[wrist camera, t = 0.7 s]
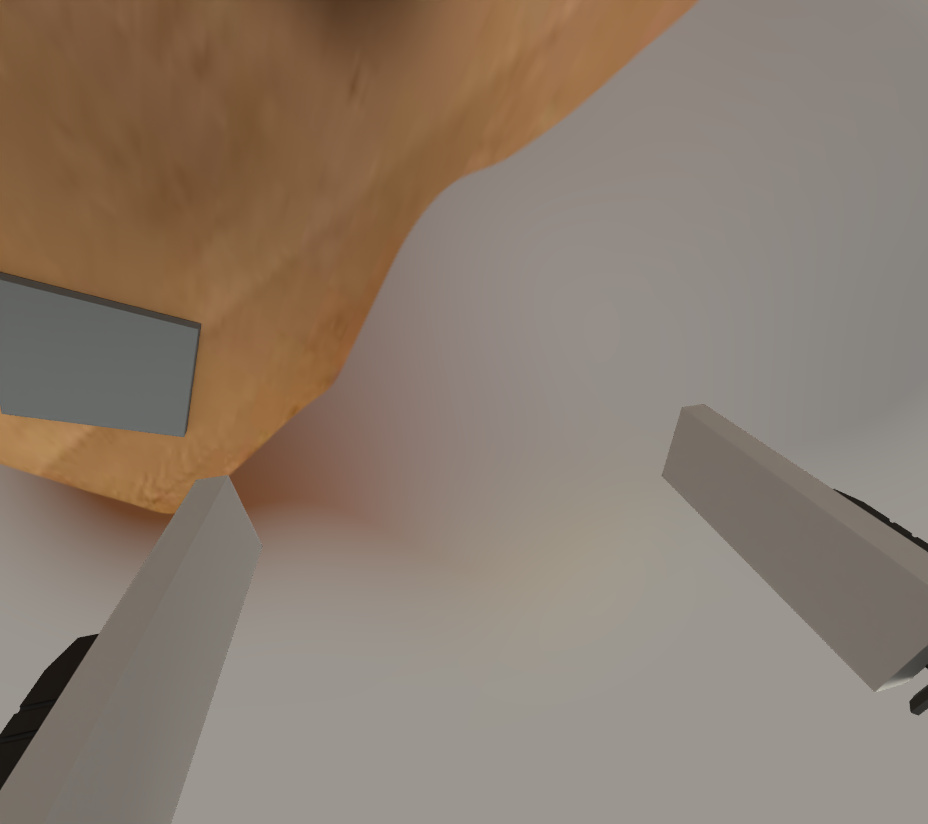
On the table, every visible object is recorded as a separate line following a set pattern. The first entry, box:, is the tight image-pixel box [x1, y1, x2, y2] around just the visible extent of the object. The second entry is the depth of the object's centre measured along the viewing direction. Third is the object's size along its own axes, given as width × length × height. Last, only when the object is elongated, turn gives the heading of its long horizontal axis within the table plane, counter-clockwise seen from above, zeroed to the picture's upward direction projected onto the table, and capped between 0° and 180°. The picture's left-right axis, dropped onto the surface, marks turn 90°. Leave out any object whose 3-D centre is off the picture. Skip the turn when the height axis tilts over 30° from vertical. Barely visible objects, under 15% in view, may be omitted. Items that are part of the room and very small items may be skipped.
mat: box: [0, 272, 201, 437], centre depth 31 cm, size 12×12×1 cm
